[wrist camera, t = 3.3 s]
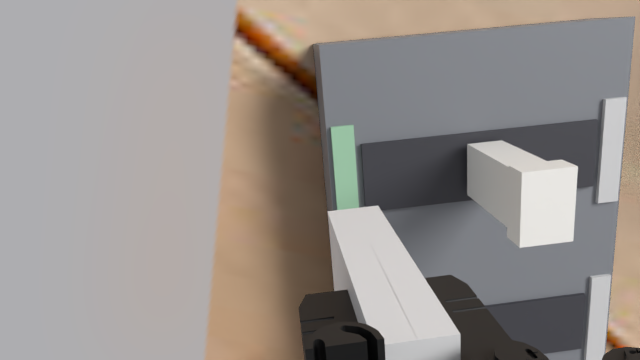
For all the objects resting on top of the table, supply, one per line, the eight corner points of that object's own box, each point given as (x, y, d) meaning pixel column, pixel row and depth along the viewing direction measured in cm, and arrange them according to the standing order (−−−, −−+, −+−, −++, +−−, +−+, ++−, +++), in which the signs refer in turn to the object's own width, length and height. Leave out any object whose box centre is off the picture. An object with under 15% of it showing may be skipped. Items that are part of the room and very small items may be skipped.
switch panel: (562, 490, 34) (591, 536, 31) (354, 523, 33) (363, 573, 30) (593, 18, 25) (638, 16, 22) (313, 43, 24) (319, 45, 21)
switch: (504, 194, 24) (573, 241, 18) (463, 199, 23) (519, 247, 18) (506, 135, 23) (577, 166, 17) (462, 139, 23) (522, 172, 17)
